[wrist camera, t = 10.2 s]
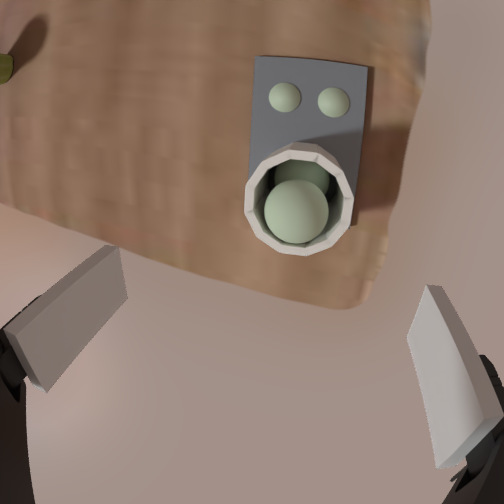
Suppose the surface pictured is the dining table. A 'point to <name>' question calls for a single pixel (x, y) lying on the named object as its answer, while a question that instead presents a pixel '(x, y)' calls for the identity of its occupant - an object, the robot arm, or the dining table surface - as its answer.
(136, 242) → the dining table surface
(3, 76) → the plant pot
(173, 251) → the dining table surface
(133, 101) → the dining table surface
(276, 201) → the sage ball
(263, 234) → the tube stand
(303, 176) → the sage ball
